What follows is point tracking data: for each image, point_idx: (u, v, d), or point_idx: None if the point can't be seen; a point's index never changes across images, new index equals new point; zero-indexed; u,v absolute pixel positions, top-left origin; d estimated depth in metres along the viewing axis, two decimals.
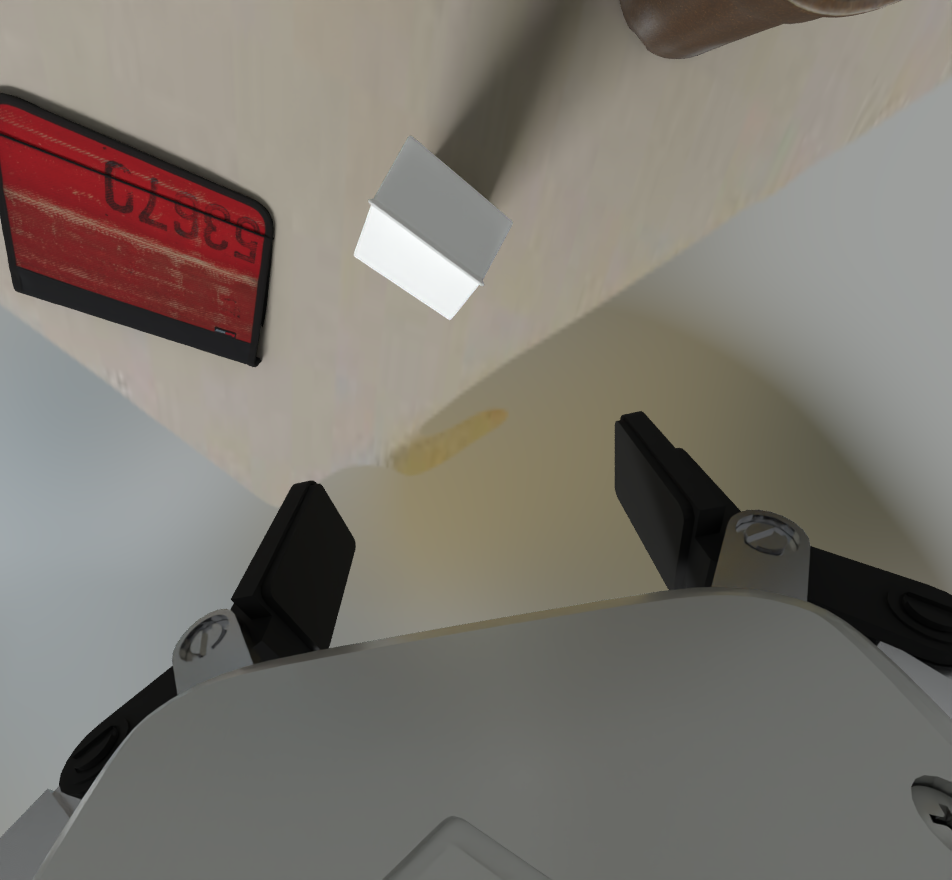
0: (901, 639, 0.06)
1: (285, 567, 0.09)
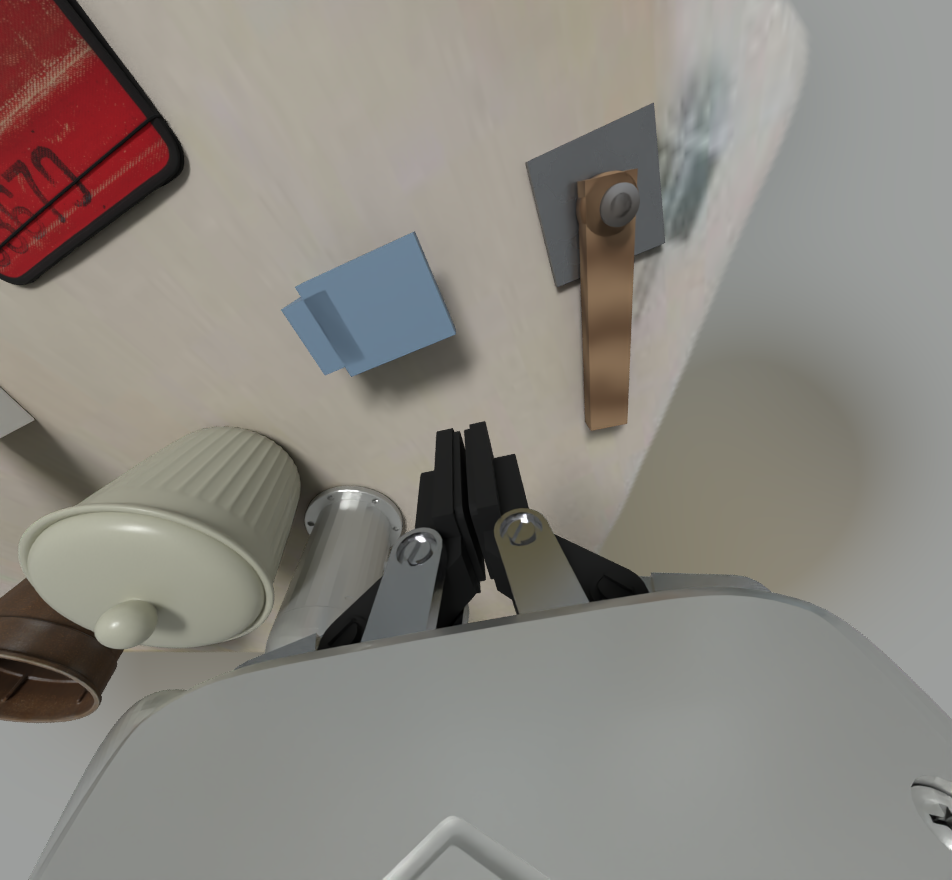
0: None
1: (463, 496, 0.09)
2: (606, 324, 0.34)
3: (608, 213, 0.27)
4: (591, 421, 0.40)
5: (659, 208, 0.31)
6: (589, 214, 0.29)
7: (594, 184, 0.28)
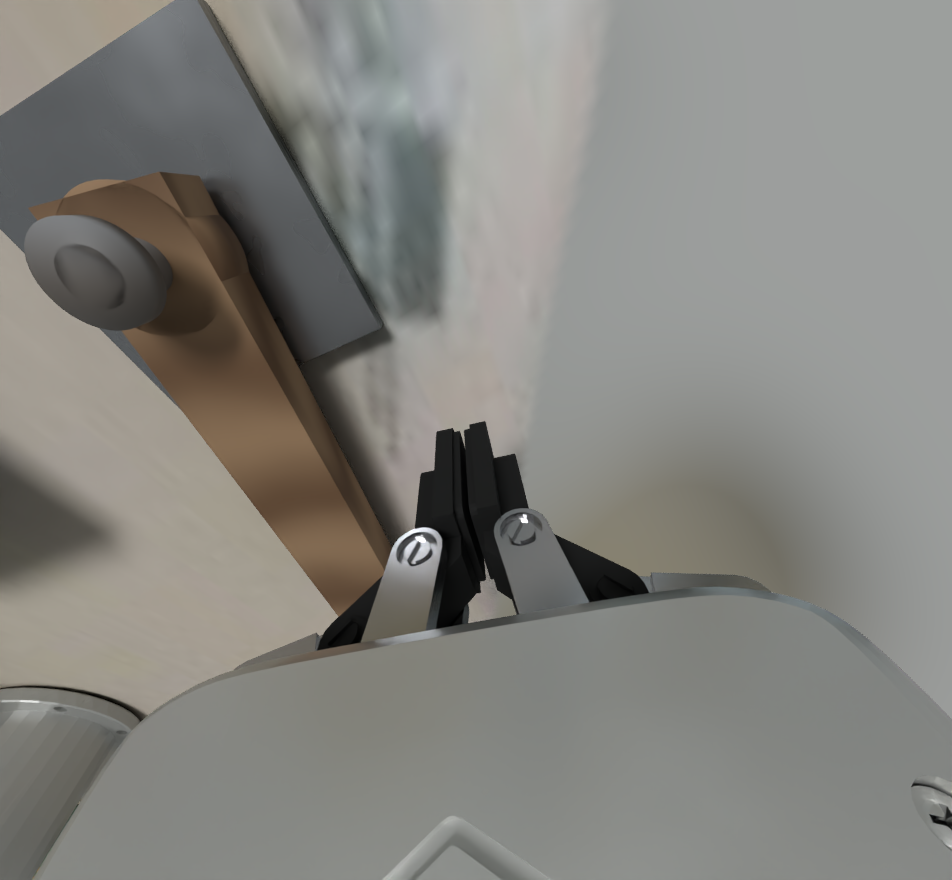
0: None
1: (463, 496, 0.09)
2: (284, 492, 0.17)
3: (68, 299, 0.10)
4: None
5: (334, 260, 0.14)
6: None
7: None
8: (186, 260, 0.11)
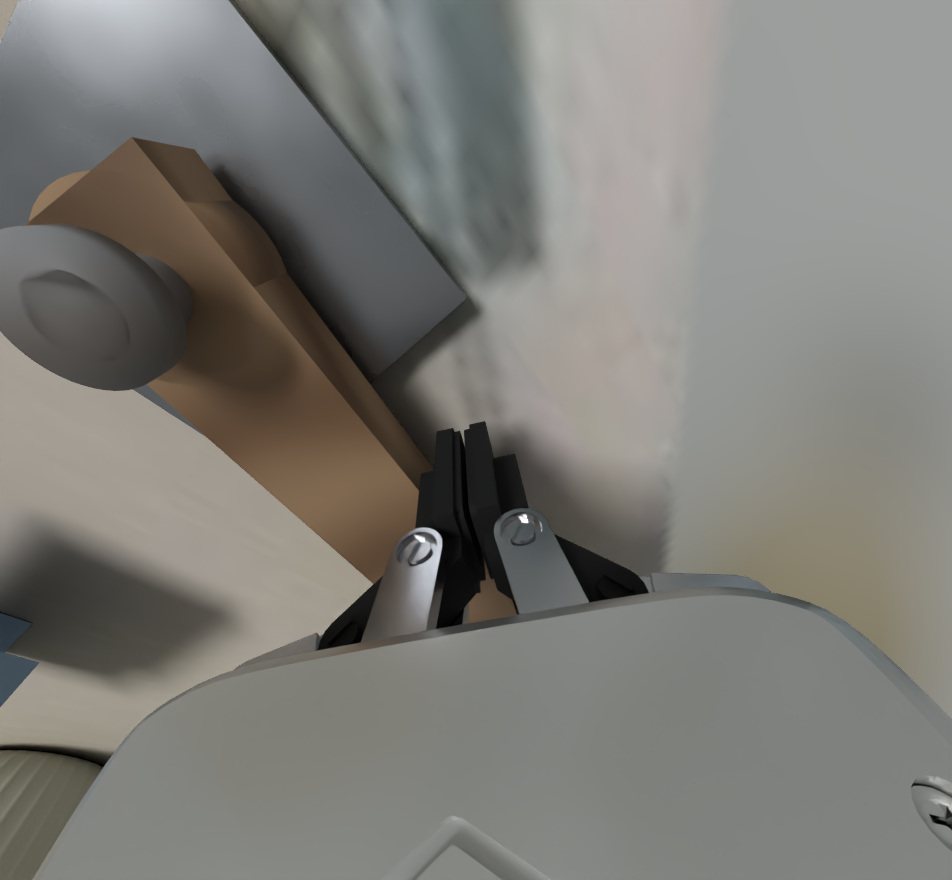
0: None
1: (463, 496, 0.09)
2: (387, 546, 0.13)
3: (60, 358, 0.07)
4: None
5: (388, 216, 0.10)
6: None
7: None
8: (202, 268, 0.08)
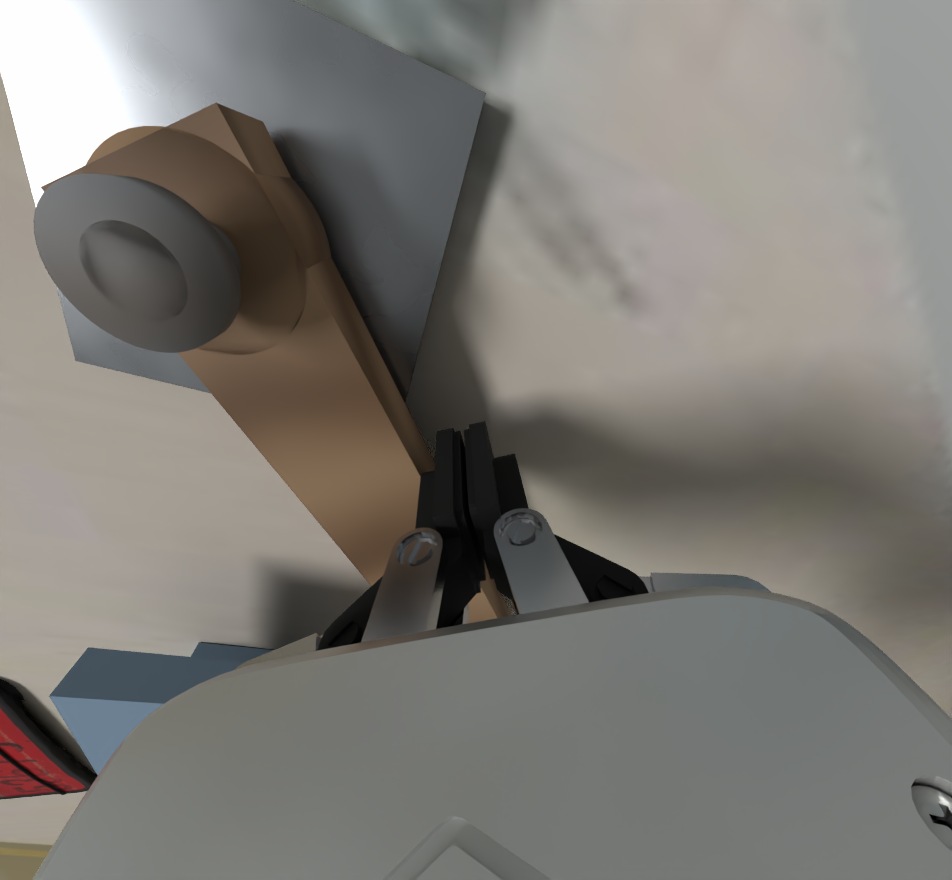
0: None
1: (463, 496, 0.09)
2: (383, 538, 0.13)
3: (106, 311, 0.07)
4: None
5: (357, 49, 0.08)
6: None
7: None
8: (259, 242, 0.08)
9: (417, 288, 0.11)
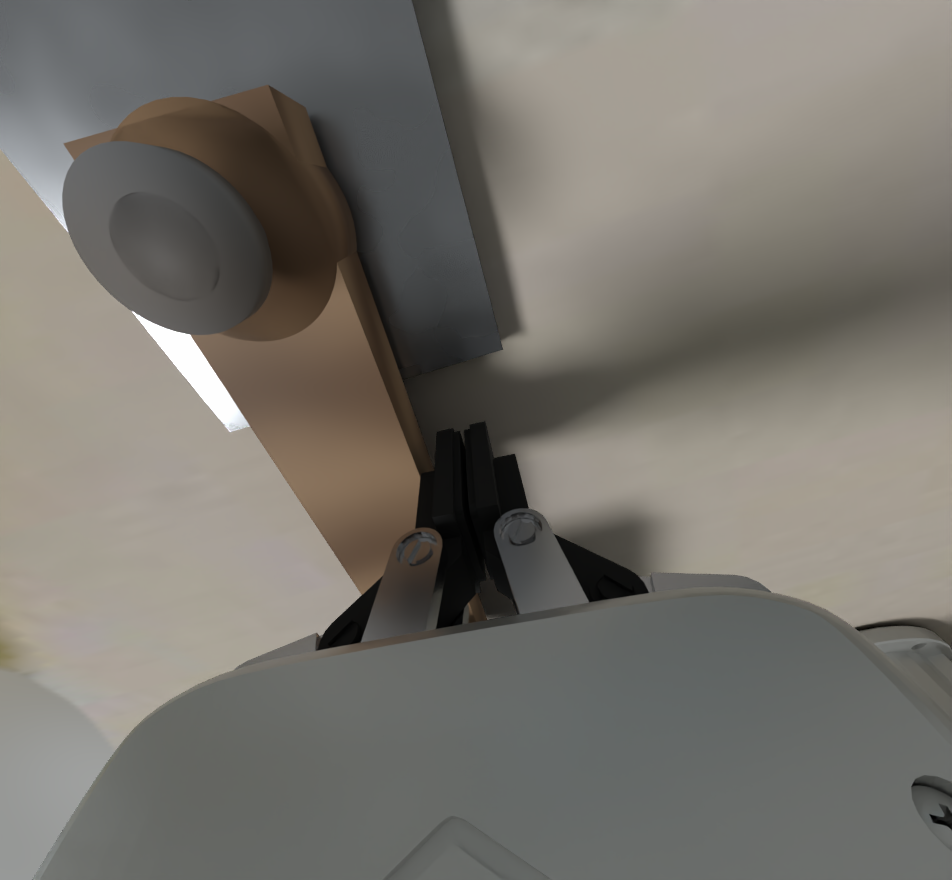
0: None
1: (463, 496, 0.09)
2: (375, 538, 0.13)
3: (128, 285, 0.06)
4: None
5: None
6: None
7: None
8: (291, 230, 0.08)
9: (431, 154, 0.09)
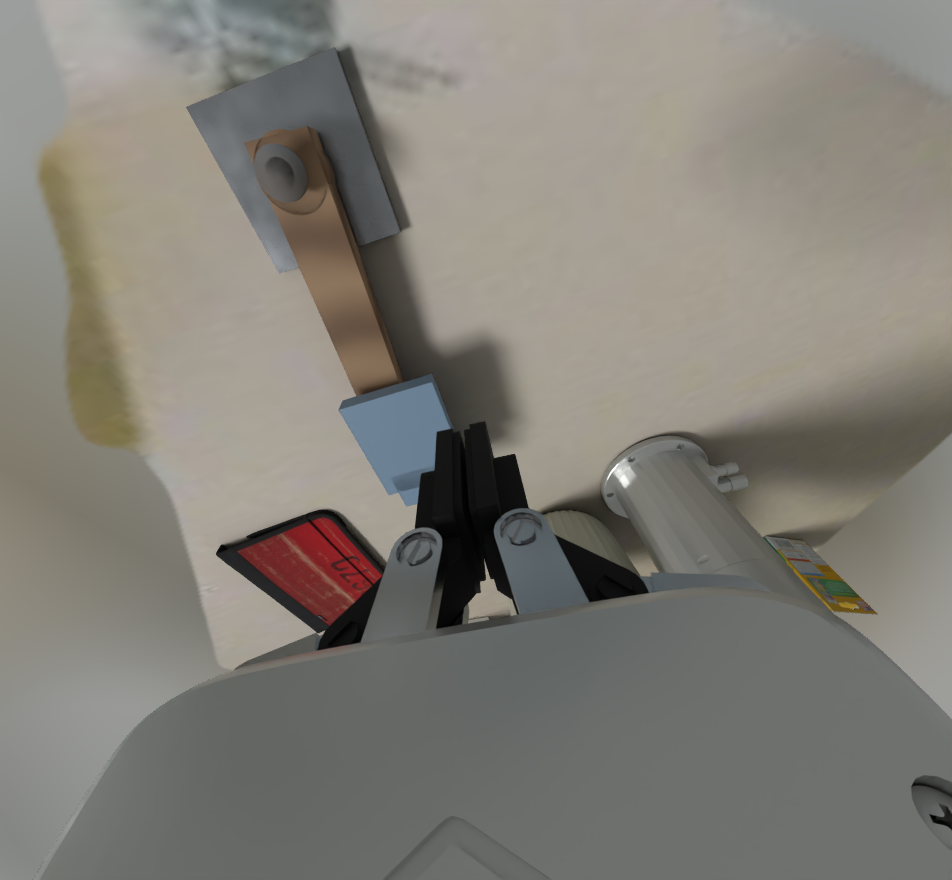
0: None
1: (463, 496, 0.09)
2: (346, 322, 0.29)
3: (267, 184, 0.22)
4: None
5: (292, 71, 0.22)
6: None
7: (258, 147, 0.22)
8: (312, 172, 0.23)
9: (362, 146, 0.24)
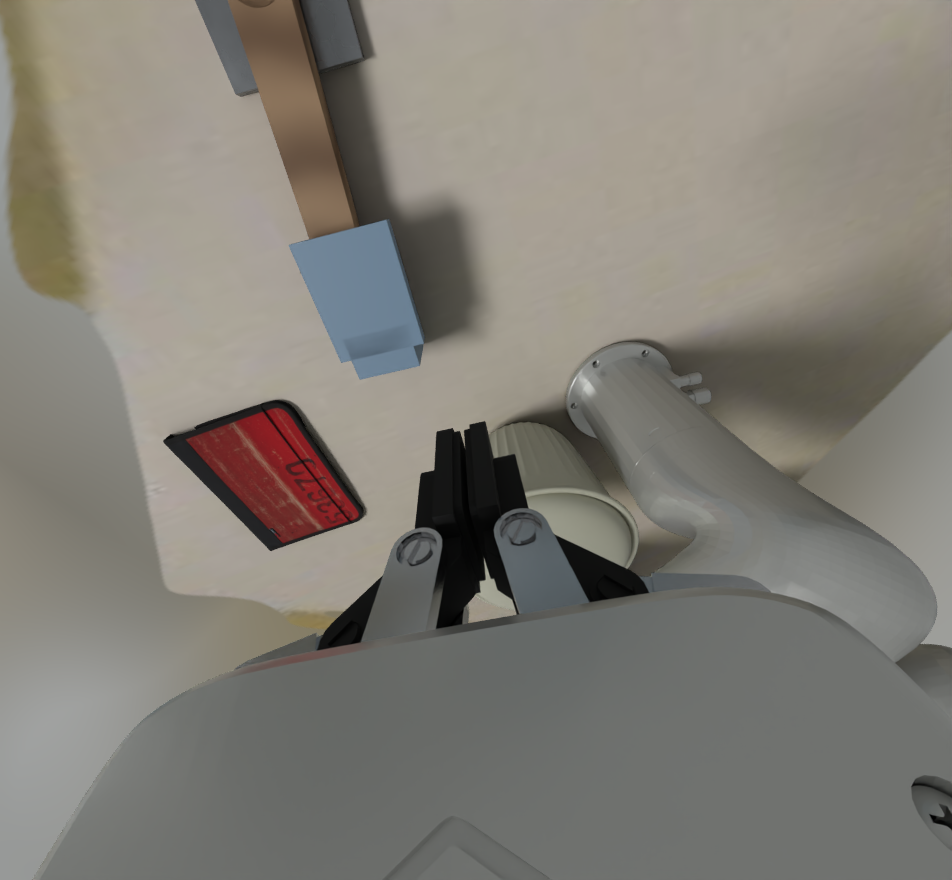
0: None
1: (463, 496, 0.09)
2: (301, 150, 0.28)
3: None
4: None
5: None
6: None
7: None
8: None
9: None
